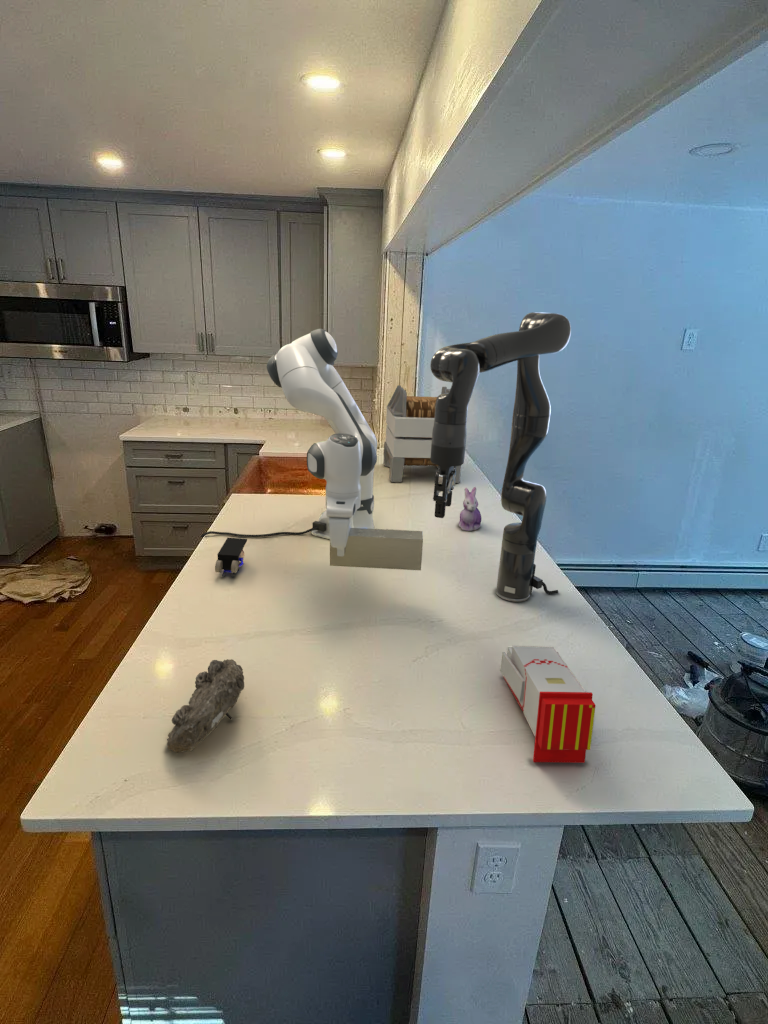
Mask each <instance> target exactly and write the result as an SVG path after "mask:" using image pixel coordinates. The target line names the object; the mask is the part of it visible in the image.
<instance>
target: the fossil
mask: <svg viewBox="0 0 768 1024" xmlns="http://www.w3.org/2000/svg"><path fill="white" fill-rule="evenodd" d="M243 670H244V669H243V667H242V665H240V664H237V662H236V661H235V660H234V659H232V658H231V659H227V658H226V659H224V660H223V661H222V660H217V659H212V660H211V661H210V663H209V665H208V666H207V671H201V672H199V673H198V674H197V675H196V676H195V680H194V684H195V685H194V687H195V689H194V690H193V693H192V694H191V697H190V698H189V700H188V704H184V705H182V706H181V707H180V709H177V710H176V711H175V713H174V715H173V716H172V718H171V723H172V724H173V727H172V730H171V731H170V732H168V734H167V738H166V741H167V742H166V745H167V749H168V750H169V751H173V752H174V753H176V754H178V753H182V752H188V751H189V752H192V751H193V750H195V748H196V747H197V746H199V744H200V743H201V742H203V741H204V740H205V739H206V738H207V737H208V736H209V735H210V734H211V733H212V732H214V730H215V729H217V727H218V726H219V724H220V722H221V721H222V720H223V719H224V718H225V716H226V717H227V719H229V720H233V717H232V715H230V714H229V710H230V709H231V708H234V706H235V704H236V703H237V702H238V699H239V697H240V695H241V693H242V691H243V690H245V689H244V688H245V675H244V671H243Z"/></svg>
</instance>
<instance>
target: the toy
mask: <svg viewBox="0 0 768 1024" xmlns="http://www.w3.org/2000/svg"><path fill="white" fill-rule="evenodd" d="M506 650H507V651H502V652H501V659H500V666H499V671H500V673H501V675H502V677H503V679H504V681H505V683H506V684H507V687H508V688H509V690H510V692H511V693H512V696H513V697H514V699H515V700H516V703H517V704H518V706H519V708H520V709H521V711H522V712H523V716H524V717H525V719H526V722H527V723H528V726H529V728H530V730H531V731H532V734H533V736H534V744H533V745H534V746H533V757H532V762H533V763H568V764H569V763H575V764H576V763H577V764H578V763H579V764H582V763H583V764H585V762H586V754H587V751H591V747H592V746H591V745H592V738H593V729H594V722H595V713H596V707H597V706H596V703H595V702H594V700H593V696H594V695H593V692H590V691H589V692H587V691H586V690H585V688H584V687H583V686H582V684H581V683H580V681H579V680H578V679H577V677H576V676H575V675H574V673H573V672H572V671H571V669H570V668H569V667H568V665H567V664H566V662H565V661H564V659H563V658H562V656H561V655H560V653H559V651H557V649H556V648H555V647H554V646H545V645H544V646H543V645H542V646H540V645H535V646H534V645H512V646H507V649H506Z"/></svg>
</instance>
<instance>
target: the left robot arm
mask: <svg viewBox="0 0 768 1024" xmlns="http://www.w3.org/2000/svg"><path fill="white" fill-rule="evenodd" d="M338 354H339V351H338V347H337V343H336V341H335V338H334V337H333V336H332V335H331V333H329V332H328V331H327V330H325V329H323V328H316V329H314V330H311V331H310V332H309V333H307V334H305V335H303V336H300V337H298V338H296V339H295V340H293V341H291V343H288V344H284V345H283V346H282V347H280V349H279V350H278V351H277V353H274V354H273V355H272V356H270V357H269V359H268V360H267V362H266V370H267V373H268V376H269V377H270V379H271V381H272V382H273V384H275V385H276V386H277V387H278V388H281V390H282V392H283V395H284V397H285V399H286V400H287V402H288V404H290V406H291V407H293V408H294V409H296V410H298V411H300V412H303V413H309V414H313V415H317V416H320V417H324V419H325V420H326V422H327V423H328V425H329V426H330V428H331V429H332V431H333V432H334V434H331V435H330V436H329V437H328V438H327V439H326V440H321V441H317V442H313V444H311V445H310V447H309V448H308V450H307V452H306V468H307V470H308V472H309V473H310V474H311V475H312V476H313V477H314V478H317V479H319V480H325V482H326V484H325V510H323V512H321V514H320V515H319V517H318V520H314V521H313V522H311V523H312V526H311V528H309V529H307V530H304V531H297V532H296V531H278V532H271V533H266V534H265V533H264V534H245V533H244V534H243V533H236V532H235V533H233V532H227V531H226V532H225V531H213V530H209V531H206V532H204V533H203V534H202V535H200V538H204V537H206V536H207V535H220V536H221V535H223V536H233V537H237V538H267V537H273V536H274V537H275V536H280V535H289V536H290V535H291V536H292V535H293V536H301V535H305V534H308V533H311V536H315V537H319V538H323V539H326V540H329V544H330V543H331V546H332V547H334V548H337V556H344V554H345V547H346V544H347V540H348V536H349V532H350V528H367V529H376V528H375V523H374V513H373V512H374V509H375V496H374V476H375V475H374V474H375V467H376V465H377V462H378V455H377V453H378V451H377V450H378V438H377V436H376V434H375V433H374V431H373V430H372V428H371V426H370V425H369V423H368V421H367V420H366V418H365V416H364V415H363V413H362V411H361V409H360V407H359V406H358V404H357V403H356V401H355V399H354V397H353V395H352V394H351V392H350V390H349V389H348V388H347V385H346V384H345V382H344V380H343V378H342V377H341V375H340V374H339V372H338V370H337V369H336V368H335V367H334V365H335V361H336V360H337V359H338V358H337V357H338Z"/></svg>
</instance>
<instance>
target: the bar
mask: <svg viewBox="0 0 768 1024" xmlns="http://www.w3.org/2000/svg"><path fill="white" fill-rule="evenodd" d="M423 545H424V533H423V530H404V529H387V528H386V529H385V528H382V529H381V528H375V529H367V528H350V532H349V536H348V540H347V544H346V547H345V554H344V556H337V548H334V547H332V546H331V543H330V542H329V566H330V567H343V568H344V567H345V568H346V567H347V568H363V569H365V568H367V569H387V570H405V571H406V570H407V571H422V561H423V548H424V547H423Z"/></svg>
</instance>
